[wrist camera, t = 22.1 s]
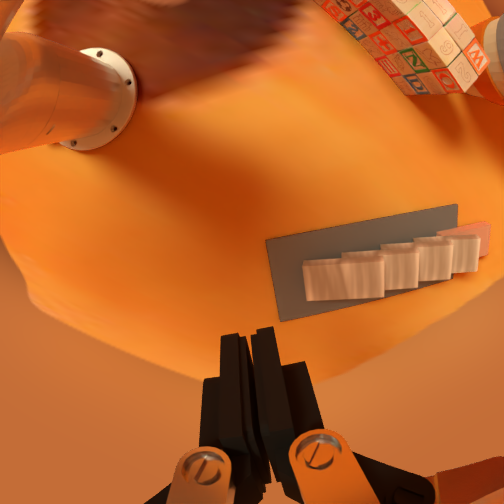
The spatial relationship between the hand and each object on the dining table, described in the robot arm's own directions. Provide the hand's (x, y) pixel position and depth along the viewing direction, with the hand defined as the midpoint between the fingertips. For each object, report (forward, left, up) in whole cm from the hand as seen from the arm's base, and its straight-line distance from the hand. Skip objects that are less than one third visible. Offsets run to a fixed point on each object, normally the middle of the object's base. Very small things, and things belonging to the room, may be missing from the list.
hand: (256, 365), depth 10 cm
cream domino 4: (+22, -13, -28) cm, 38 cm away
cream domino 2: (+11, -13, -28) cm, 33 cm away
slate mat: (+16, -13, -29) cm, 36 cm away
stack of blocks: (+19, +19, -30) cm, 40 cm away
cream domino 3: (+17, -13, -28) cm, 35 cm away
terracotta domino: (+26, -13, -28) cm, 40 cm away
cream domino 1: (+6, -13, -28) cm, 31 cm away
